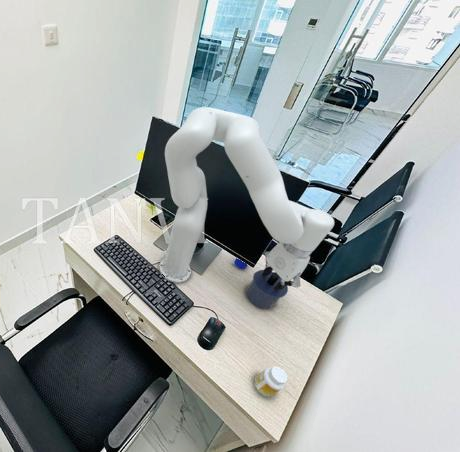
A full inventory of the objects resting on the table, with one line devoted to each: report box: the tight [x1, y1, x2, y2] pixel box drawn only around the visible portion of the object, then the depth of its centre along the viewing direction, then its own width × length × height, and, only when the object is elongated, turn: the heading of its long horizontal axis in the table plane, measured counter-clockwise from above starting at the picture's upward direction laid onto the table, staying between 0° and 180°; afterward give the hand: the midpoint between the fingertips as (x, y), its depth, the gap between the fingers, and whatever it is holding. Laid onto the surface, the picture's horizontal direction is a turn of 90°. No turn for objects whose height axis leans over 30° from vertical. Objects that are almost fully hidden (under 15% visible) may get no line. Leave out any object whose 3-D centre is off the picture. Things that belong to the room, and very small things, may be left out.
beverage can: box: [233, 257, 249, 270], centre depth 101 cm, size 5×5×15 cm
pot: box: [245, 279, 281, 310], centre depth 93 cm, size 10×10×8 cm
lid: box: [252, 269, 289, 299], centre depth 88 cm, size 11×11×6 cm
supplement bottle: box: [254, 366, 288, 397], centre depth 70 cm, size 5×5×10 cm
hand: (271, 281), depth 89 cm, fingers open, 5 cm apart
